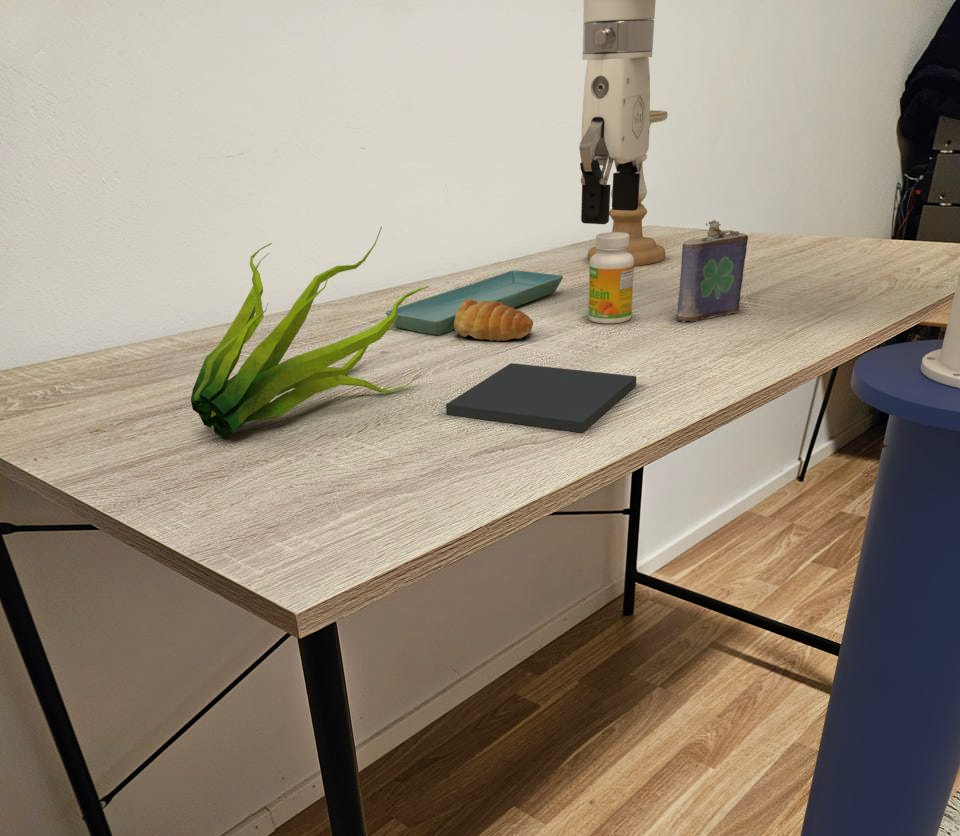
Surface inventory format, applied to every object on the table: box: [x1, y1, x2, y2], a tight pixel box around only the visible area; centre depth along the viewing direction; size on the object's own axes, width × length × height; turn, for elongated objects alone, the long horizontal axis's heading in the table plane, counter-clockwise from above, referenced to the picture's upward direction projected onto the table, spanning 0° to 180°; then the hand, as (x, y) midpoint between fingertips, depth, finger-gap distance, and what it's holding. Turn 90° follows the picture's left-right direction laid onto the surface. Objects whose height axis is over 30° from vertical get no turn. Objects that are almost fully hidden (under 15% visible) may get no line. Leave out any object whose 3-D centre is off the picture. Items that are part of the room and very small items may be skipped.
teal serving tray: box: [385, 269, 564, 336], centre depth 118 cm, size 26×9×2 cm, turn 140°
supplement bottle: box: [587, 231, 635, 325], centre depth 109 cm, size 5×5×10 cm
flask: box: [676, 219, 749, 323], centre depth 108 cm, size 9×3×11 cm, turn 117°
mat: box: [445, 362, 637, 434], centre depth 87 cm, size 14×14×1 cm
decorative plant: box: [190, 226, 430, 440], centre depth 88 cm, size 18×30×15 cm, turn 125°
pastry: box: [454, 299, 534, 342], centre depth 107 cm, size 9×7×4 cm
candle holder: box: [587, 109, 669, 267], centre depth 137 cm, size 12×12×20 cm
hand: (610, 216), depth 105 cm, fingers open, 9 cm apart
